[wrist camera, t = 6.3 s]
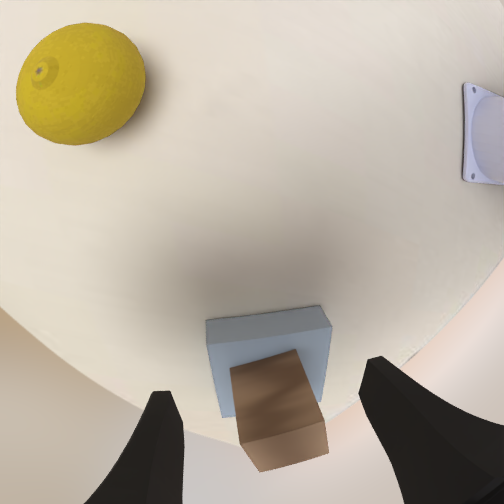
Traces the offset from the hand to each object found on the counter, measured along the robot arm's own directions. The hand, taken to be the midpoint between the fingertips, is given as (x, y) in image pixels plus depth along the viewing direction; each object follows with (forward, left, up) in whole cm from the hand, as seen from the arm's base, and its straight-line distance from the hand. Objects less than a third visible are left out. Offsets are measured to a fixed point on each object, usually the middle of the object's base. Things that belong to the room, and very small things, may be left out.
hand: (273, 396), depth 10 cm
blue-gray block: (-1, +7, -10) cm, 13 cm away
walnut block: (-1, +7, -7) cm, 10 cm away
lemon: (+7, -12, -10) cm, 17 cm away
